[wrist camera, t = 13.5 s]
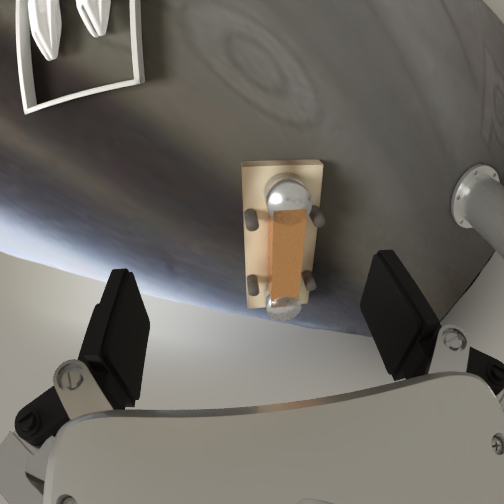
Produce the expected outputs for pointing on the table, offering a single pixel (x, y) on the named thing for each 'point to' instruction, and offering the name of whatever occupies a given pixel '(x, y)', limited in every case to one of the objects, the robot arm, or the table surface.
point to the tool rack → (257, 223)
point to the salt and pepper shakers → (49, 22)
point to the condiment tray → (31, 102)
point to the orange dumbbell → (285, 243)
